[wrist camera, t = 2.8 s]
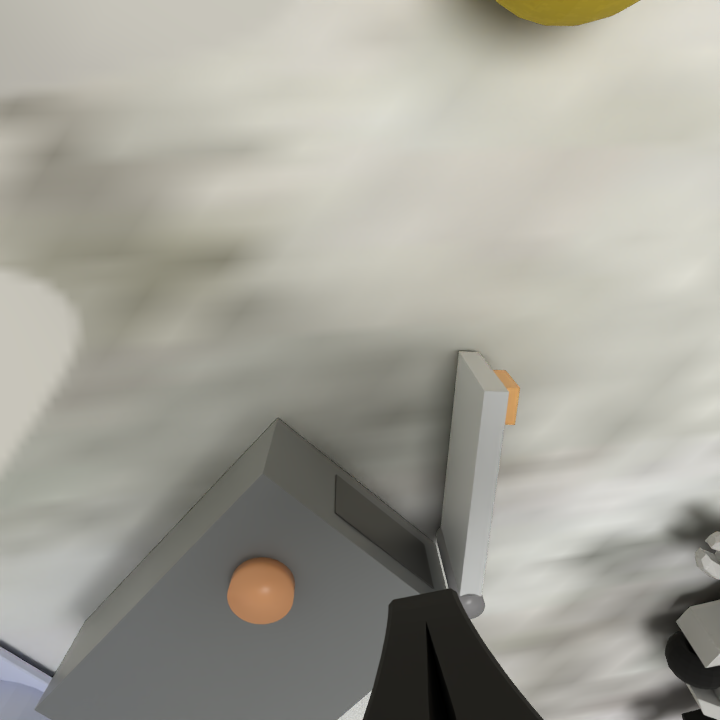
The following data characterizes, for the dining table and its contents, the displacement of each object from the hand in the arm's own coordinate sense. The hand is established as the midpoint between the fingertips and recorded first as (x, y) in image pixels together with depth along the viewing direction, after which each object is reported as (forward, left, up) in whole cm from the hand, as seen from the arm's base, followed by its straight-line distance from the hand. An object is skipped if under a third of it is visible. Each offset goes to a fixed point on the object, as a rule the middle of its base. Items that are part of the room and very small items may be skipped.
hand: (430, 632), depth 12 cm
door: (+1, -2, -9) cm, 10 cm away
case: (-8, 0, -10) cm, 13 cm away
